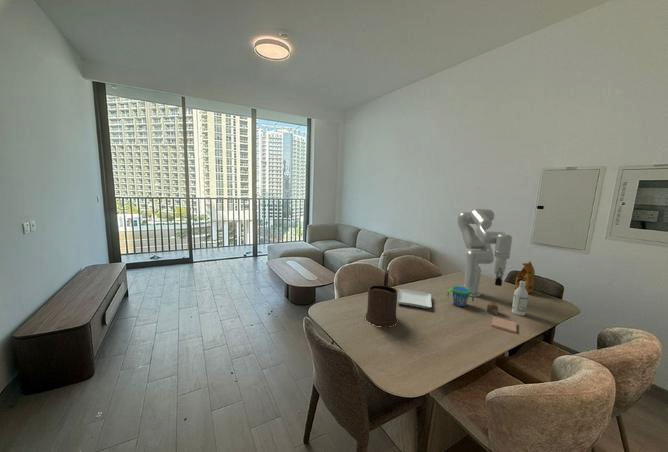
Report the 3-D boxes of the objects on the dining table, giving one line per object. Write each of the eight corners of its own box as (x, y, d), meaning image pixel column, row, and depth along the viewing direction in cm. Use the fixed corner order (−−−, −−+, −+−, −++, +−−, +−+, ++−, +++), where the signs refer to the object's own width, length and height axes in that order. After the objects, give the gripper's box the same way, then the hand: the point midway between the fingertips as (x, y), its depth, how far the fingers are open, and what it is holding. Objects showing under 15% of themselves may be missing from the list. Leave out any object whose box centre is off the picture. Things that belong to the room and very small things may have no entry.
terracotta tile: (491, 326, 141) (491, 324, 141) (493, 318, 150) (493, 316, 149) (516, 333, 135) (516, 331, 134) (516, 324, 143) (516, 322, 143)
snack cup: (471, 303, 169) (473, 288, 167) (474, 310, 159) (476, 294, 157) (446, 298, 174) (447, 284, 173) (446, 305, 164) (448, 290, 163)
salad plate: (431, 311, 156) (432, 306, 156) (395, 305, 163) (396, 300, 162) (430, 297, 176) (431, 293, 175) (398, 293, 183) (399, 288, 182)
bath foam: (527, 314, 156) (532, 282, 152) (521, 316, 152) (526, 284, 149) (515, 309, 162) (520, 279, 159) (508, 311, 159) (513, 280, 156)
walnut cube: (486, 312, 156) (487, 304, 156) (487, 309, 161) (488, 301, 160) (497, 315, 153) (498, 306, 153) (497, 312, 158) (498, 303, 157)
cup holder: (360, 323, 140) (363, 279, 136) (370, 305, 162) (372, 266, 158) (395, 331, 134) (399, 285, 130) (400, 310, 156) (403, 270, 152)
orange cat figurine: (511, 290, 193) (515, 261, 189) (519, 287, 199) (523, 259, 196) (526, 295, 184) (531, 265, 181) (534, 291, 191) (539, 263, 187)
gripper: (495, 251, 161) (491, 277, 163) (493, 257, 146) (490, 285, 149) (509, 253, 157) (506, 280, 159) (509, 259, 142) (505, 289, 145)
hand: (498, 283), depth 154 cm, fingers open, 9 cm apart
